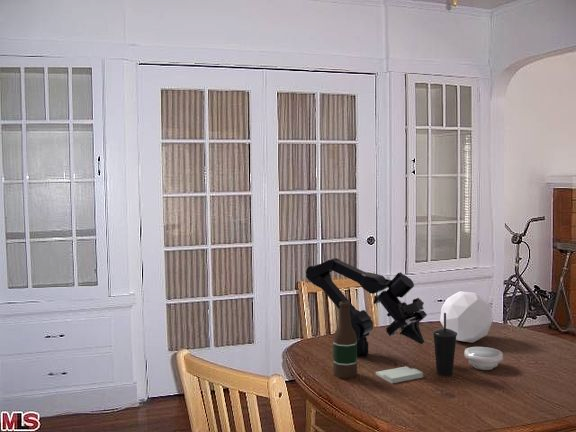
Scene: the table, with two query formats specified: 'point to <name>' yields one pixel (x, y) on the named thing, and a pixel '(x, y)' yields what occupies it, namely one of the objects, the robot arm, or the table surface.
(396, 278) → the robot arm
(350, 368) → the beer bottle
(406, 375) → the napkin
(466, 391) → the table surface
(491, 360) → the bowl
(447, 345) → the drinking cup
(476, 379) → the table surface
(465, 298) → the ball
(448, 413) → the table surface
